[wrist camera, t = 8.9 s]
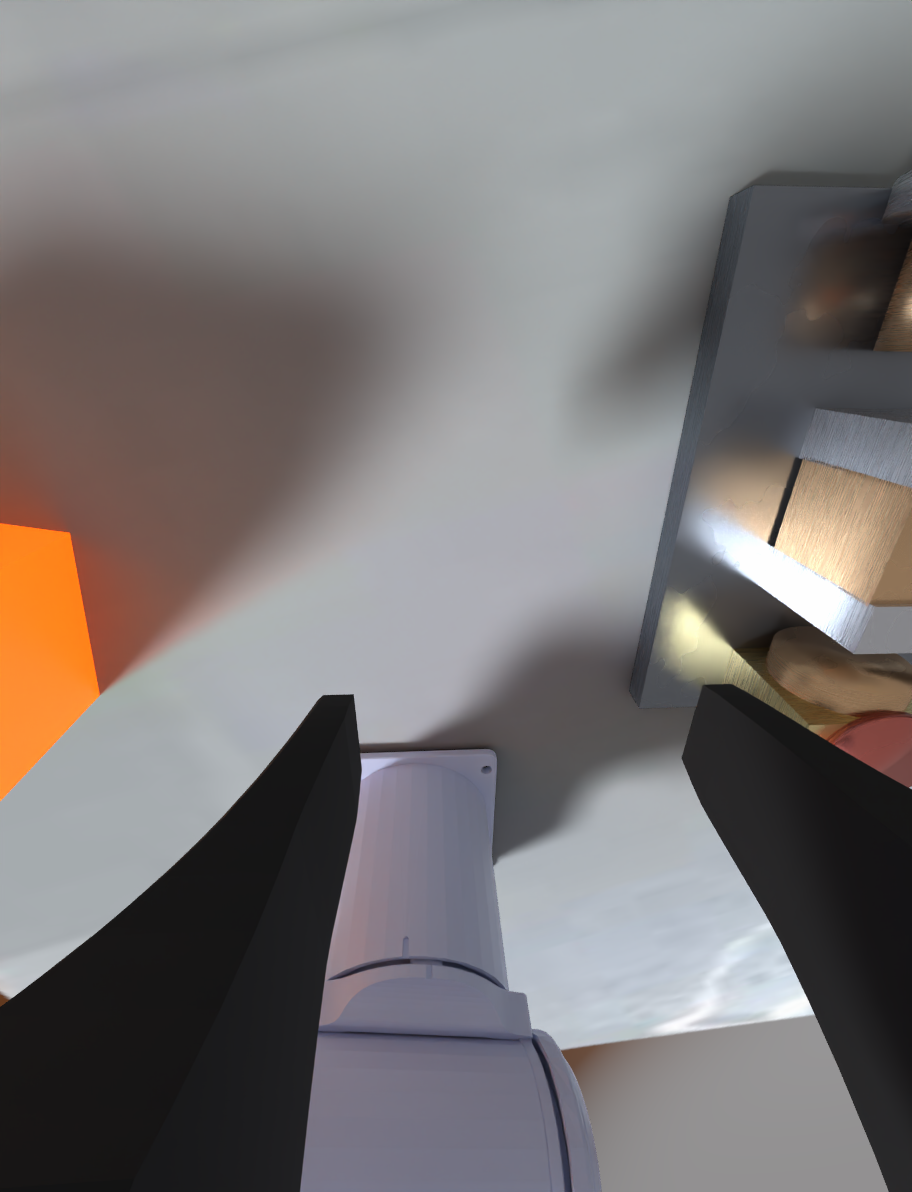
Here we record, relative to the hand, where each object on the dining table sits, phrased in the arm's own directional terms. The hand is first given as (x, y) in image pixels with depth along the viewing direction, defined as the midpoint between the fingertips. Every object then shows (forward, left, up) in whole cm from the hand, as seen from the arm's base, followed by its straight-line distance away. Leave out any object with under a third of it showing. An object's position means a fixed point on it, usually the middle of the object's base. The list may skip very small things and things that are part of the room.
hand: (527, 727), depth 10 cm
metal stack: (+2, -13, -10) cm, 16 cm away
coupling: (+2, -13, -9) cm, 16 cm away
